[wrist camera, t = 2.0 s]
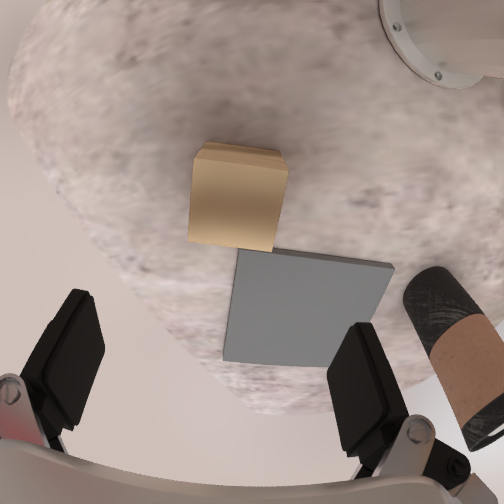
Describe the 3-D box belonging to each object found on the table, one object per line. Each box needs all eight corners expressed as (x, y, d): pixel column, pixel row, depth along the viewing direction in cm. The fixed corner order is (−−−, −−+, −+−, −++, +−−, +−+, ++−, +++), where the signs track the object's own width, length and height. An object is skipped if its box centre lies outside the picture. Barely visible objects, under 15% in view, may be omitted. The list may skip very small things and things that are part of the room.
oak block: (206, 141, 23) (194, 158, 18) (279, 151, 24) (289, 171, 18) (199, 208, 26) (187, 241, 21) (267, 216, 27) (271, 252, 22)
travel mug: (399, 321, 34) (458, 461, 17) (401, 274, 30) (486, 432, 13) (448, 304, 33) (517, 427, 16) (455, 257, 29) (551, 388, 12)
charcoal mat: (239, 243, 28) (239, 249, 27) (391, 263, 29) (395, 269, 28) (223, 354, 36) (222, 360, 35) (342, 361, 38) (344, 367, 37)
